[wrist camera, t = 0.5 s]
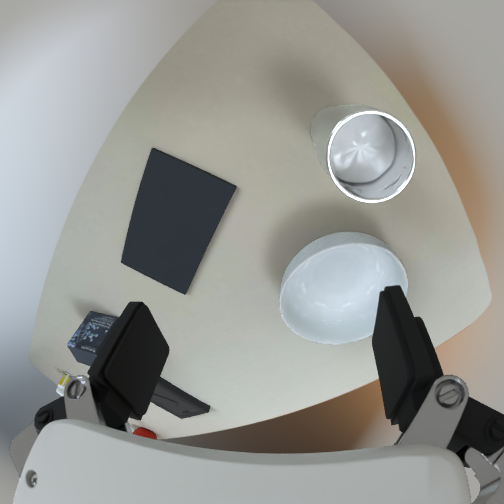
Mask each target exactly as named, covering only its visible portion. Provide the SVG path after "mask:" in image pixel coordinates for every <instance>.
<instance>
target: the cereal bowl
mask: <svg viewBox="0 0 504 504" xmlns="http://www.w3.org/2000/svg"><path fill="white" fill-rule="evenodd" d="M394 285H400V286H401V288H402V290H403V292H404V295H405V297H406V295H407V291H408V277H407V273H406V270H405V268H404V265H403V264H402V262H401V260H400V259H399V257H398V256H397V255H396V253H395V252H394V251H393V250H392V249H391V248H390V247H389V246H388V245H387V244H386V243H384V242H382V241H381V240H380V239H378V238H376V237H374V236H371V235H368V234H365V233H360V232H353V231H352V232H338V233H333V234H329V235H326V236H323V237H321V238H318V239H317V240H314V241H313V242H311V243H310V244H308V245H307V246H305V247H304V248H303V249H302V250H301V251H299V252H298V253H297V255H296V256H294V258H293V259H292V261H291V262H290V263H289V265H288V266H287V268H286V271H285V272H284V275H283V278H282V281H281V286H280V292H279V307H280V312H281V315H282V318H283V320H284V322H285V323H286V324H287V326H288V327H289V328H290V329H291V330H292V331H293V332H295V333H296V334H297V335H299V336H301V337H303V338H304V339H307V340H309V341H312V342H316V343H321V344H330V345H332V344H333V345H338V344H347V343H352V342H356V341H359V340H362V339H364V338H367V337H369V336H371V335H373V332H374V326H375V320H376V314H377V308H378V301H379V294H380V291H384V288H385V287H386V286H394Z"/></svg>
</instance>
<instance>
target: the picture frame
mask: <svg viewBox="0 0 504 504" xmlns="http://www.w3.org/2000/svg"><path fill="white" fill-rule="evenodd" d="M150 402H152V403H154V404H155V405H157V406H159V407H161V408H163V409H164V410H166V411H168V412H170V413H172V414H173V415H175V416H177V417H179V418H181V419H183V418H187V417H192V416H196V415H200V414H204V413H208V412H209V409H210V406H208V405H207V404H205V403H203V402H201V401H199V400H198V399H196V398H194V397H192V396H191V395H189V394H187V393H185V392H184V391H182V390H180V389H179V388H177V387H175V386H174V385H172V384H171V383H169V382H167V381H166V380H164V379H163V378H161V377H159V380H158V383H157V385H156V388H155V390H154V393H153V396H152V398H151V401H150Z"/></svg>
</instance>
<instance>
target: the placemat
mask: <svg viewBox="0 0 504 504" xmlns="http://www.w3.org/2000/svg"><path fill="white" fill-rule="evenodd" d="M236 187H237V186H235V185H233V184H231V183H229V182H227V181H225V180H222V179H220V178H218V177H216V176H214V175H212V174H210V173H208V172H206V171H204V170H201V169H199V168H197V167H195V166H193V165H191V164H188V163H186V162H184V161H182V160H180V159H177V158H175V157H173V156H171V155H168V154H166V153H164V152H162V151H159V150H157V149H155V148H153V149H151V152H150V155H149V158H148V161H147V164H146V168H145V171H144V174H143V177H142V180H141V184H140V187H139V191H138V194H137V198H136V201H135V205H134V209H133V213H132V216H131V220H130V224H129V228H128V233H127V237H126V241H125V246H124V251H123V255H122V260H121V263H123V264H125V265H126V266H128V267H130V268H132V269H134V270H136V271H138V272H140V273H142V274H144V275H146V276H148V277H150V278H152V279H154V280H156V281H158V282H160V283H162V284H164V285H166V286H168V287H170V288H172V289H174V290H176V291H178V292H180V293H182V294H184V295H185V294H186V292H187V290H188V288H189V286H190V283H191V281H192V279H193V277H194V275H195V272H196V270H197V268H198V266H199V264H200V262H201V259H202V257H203V255H204V253H205V251H206V249H207V247H208V244H209V242H210V240H211V238H212V236H213V234H214V232H215V230H216V228H217V226H218V224H219V221H220V219H221V217H222V215H223V213H224V211H225V209H226V207H227V205H228V203H229V201H230V199H231V197H232V195H233V193H234V191H235V189H236Z"/></svg>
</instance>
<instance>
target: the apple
mask: <svg viewBox="0 0 504 504" xmlns="http://www.w3.org/2000/svg"><path fill="white" fill-rule="evenodd" d="M133 434H135V435H138V436H142V437H146V438H151V439H155V440H157V437H156V435H155V434H154V433H153V432H151V431H149V430H147V429H145V428H138V429H136V430H135V431H134V432H133Z"/></svg>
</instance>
